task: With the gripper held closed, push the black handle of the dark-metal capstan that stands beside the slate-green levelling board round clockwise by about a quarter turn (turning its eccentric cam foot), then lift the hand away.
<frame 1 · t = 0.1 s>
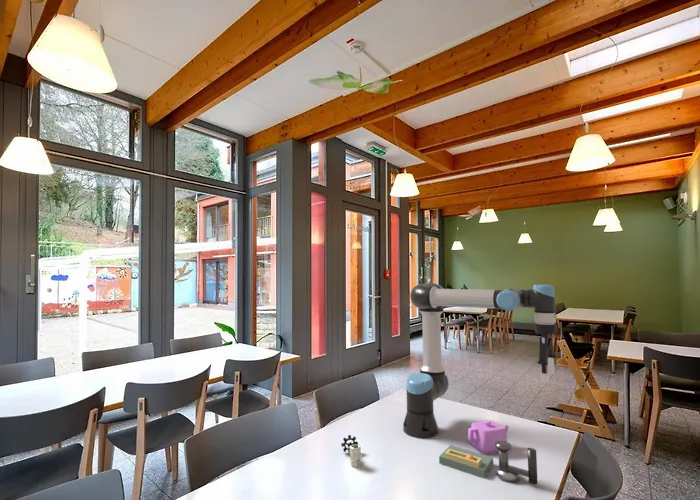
hand: (547, 377, 141), 28 cm above the table, fingers open, 13 cm apart
teapot: (489, 448, 142), on the table
cam capstan: (515, 462, 120), point 6 cm above the table, hinge at 0.0°
level stand: (466, 464, 130), on the table
valve: (353, 460, 133), on the table
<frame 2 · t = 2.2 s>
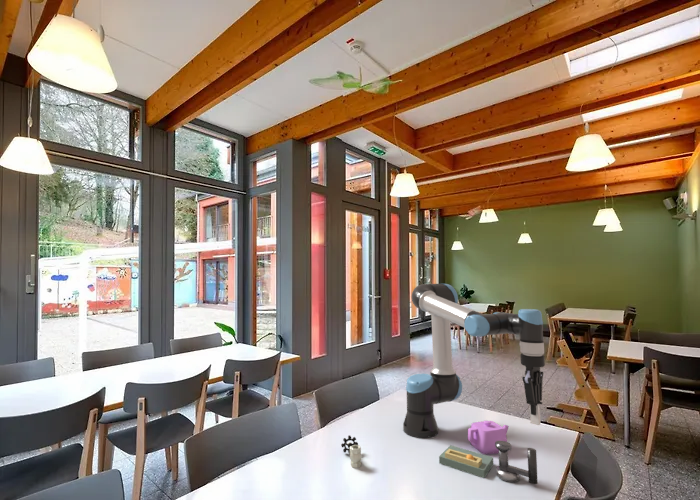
hand: (535, 423, 123), 17 cm above the table, fingers closed
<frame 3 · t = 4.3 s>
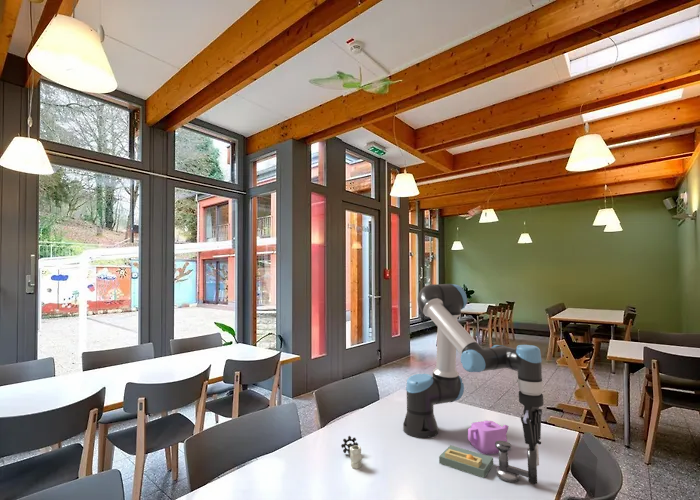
hand: (534, 463, 120), 5 cm above the table, fingers closed
cam capstan: (515, 462, 120), point 6 cm above the table, hinge at -1.7°, touching gripper
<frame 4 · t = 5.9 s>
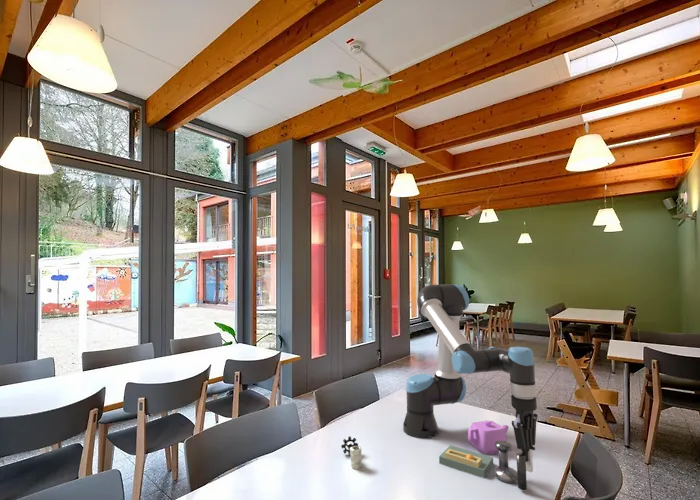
hand: (527, 470, 116), 5 cm above the table, fingers closed
cam capstan: (511, 464, 118), point 6 cm above the table, hinge at -39.9°, touching gripper
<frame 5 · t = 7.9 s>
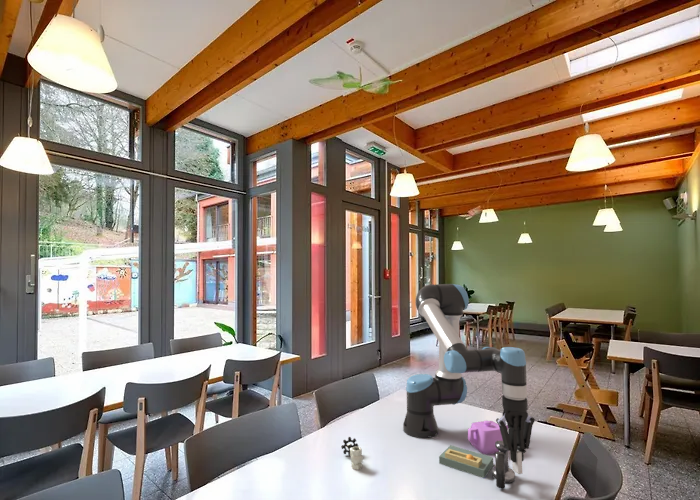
hand: (517, 471, 115), 5 cm above the table, fingers closed
cam capstan: (502, 463, 119), point 6 cm above the table, hinge at -82.4°
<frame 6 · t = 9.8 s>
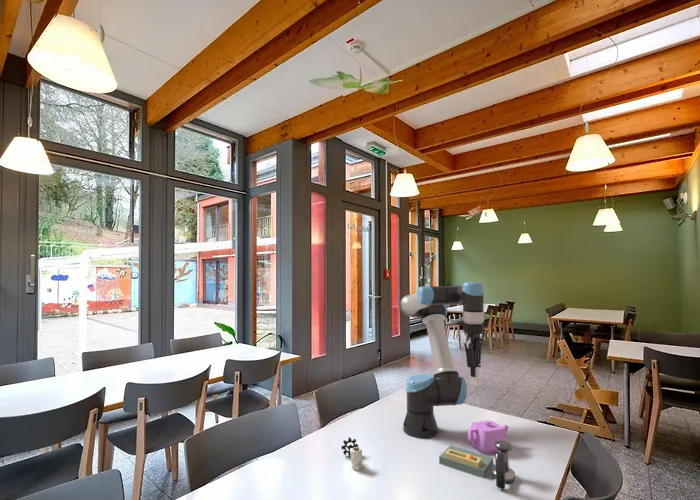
hand: (474, 384, 136), 27 cm above the table, fingers closed
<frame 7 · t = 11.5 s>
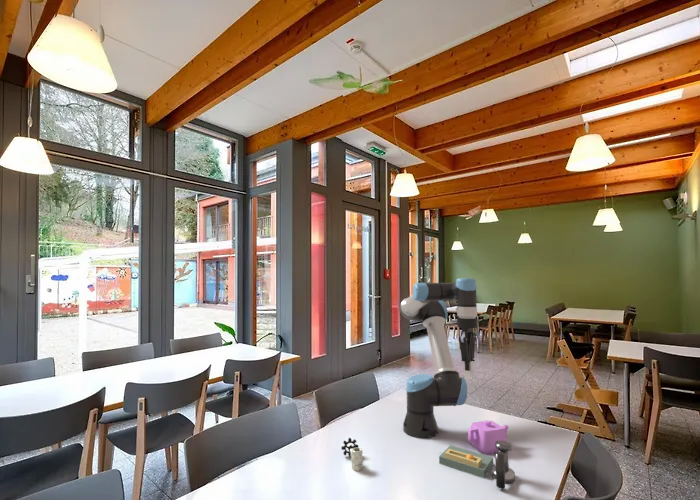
hand: (468, 378, 139), 28 cm above the table, fingers closed
at the end: cam capstan at -82° (first picture: +0°) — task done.
